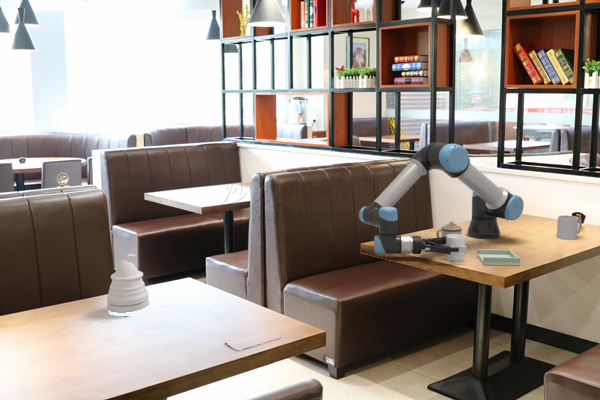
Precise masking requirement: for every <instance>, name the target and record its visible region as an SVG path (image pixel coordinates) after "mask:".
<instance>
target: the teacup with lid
mask: <svg viewBox="0 0 600 400" xmlns="http://www.w3.org/2000/svg"><path fill="white" fill-rule="evenodd" d="M462 230H463V228H462V227H461V226H460V225H457V224H455V222H454V221H449V223H447V224H445V225H442V226H441V228H440V229H438V230H437V231H436V233H435V234H436V238H439V237H440V233H441V237H444V236H445V237H446V235H448V234H461V235H462V232H463V231H462ZM439 232H440V233H439ZM444 246H446V244H444Z"/></svg>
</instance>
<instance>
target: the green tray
mask: <svg viewBox="0 0 600 400" xmlns="http://www.w3.org/2000/svg"><path fill="white" fill-rule="evenodd" d="M476 254H477V258H478V259H479V260H480V262H481V263H482V265H483V266H514V267H516V266H519V267H520V266H521V258H520V256H519V255H518V254H517V253H516V252H515V251H514V250H513V249H499V248H498V249H497V248H496V249H494V248H492V249H490V248H489V249H487V248H486V249H485V248H482V249H481V248H477V253H476Z"/></svg>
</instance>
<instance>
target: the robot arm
mask: <svg viewBox="0 0 600 400" xmlns="http://www.w3.org/2000/svg"><path fill="white" fill-rule="evenodd" d="M432 170H438V171H442V172H444V173H445V175H448V176H449V177H450V178H451V179H458V180H459V181H460V182H461V183H462V184H464V185H465V186H466V187H467V188H468V189H470V190H471V192H472V197H471V220H470V222H469V225H468V228H467V234H466V236H468V237H470V238H471V237H472V238H475V239H488V240H489V239H490V240H491V239H498V238H499V237H500V236H501V229H500V228H499V224H498V221H497V219H502V220H506V221H516V220H518V219H519V218H520V216H521V215H522V213H523V211H524V199H523V198H522V197H521V196H519V195H517V194H513V193H511V192H510V191H509V190H507V189H506V188H505V187H502V186H501V187H500V186H497V184H495V183H494V182H493V181H492V180H491V179H489V178H488V177H487V176H486V175H485V174H484V173H482V171H480V169H478V168H477V167H475V166H474V165H473V164H472V163H471V158H470V156H469V152H468V151H467V149H466V148H465V147H464V146H463V145H460V144H457V143H444V142H431V143H429V144H426V145H425V146H423V147H422V148H420V149H419V150H418V151H417V152H416V153H415V154H413V156H412V157H410V159H409V160H408V164H407V165H406V166H405V168H404V169H402V171H401V172H400V173H399V174H398V175H397V176H396V177H395V178H394V179H393V180H392V181H391V182H390V183H389V184H388V186H386V188H384V190H383V191H382V192H381V193H380V195H379V196H378V197H376V198H375V199H374V201H372V203H371V204H370V205H366V206H363V207H361V208H360V210H359V212H358V218H359V220H360V222H362V223H364V224H366V225H370V226H374V227H375V228H378V235H375V236H374V239H373V240H374V245H373V248H374V252H375V253H376V254H382V255H383V254H385V255H392V254H394V255H395V254H396V255H398V254H399V255H401V254H402V255H404V256H406V255H407V254H408V255H410V254H411V253H412V254H413V255H421V254H422V250H423V251H424V252H425V253H434V254H435V253H437V254H445V255H447V254H448V255H450V253H464V254H468V245H465V246H444V244H446V237H445V236H444V237H440V236H439V238H437V237H431V238H422V236H420V235H412V236H411V235H398V219H399V217H398V208H396V207H393V206H395V204H396V203H397V202H398V201H399V200H400V199H401V198H402V197H403V196H404V195H405V194H406V193H407V192H408V191H409V189H410V188H411V187H412V186H413V185H414V184H416V182H417V181H418V180H419V179H420V178H421V176H425V175H427V173H429V171H432Z"/></svg>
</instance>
